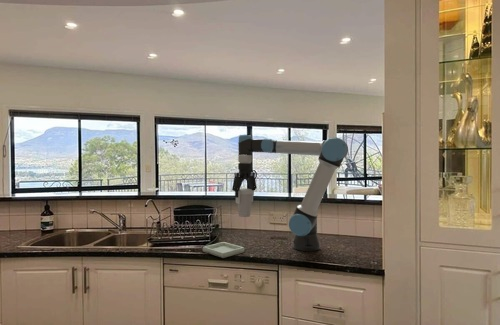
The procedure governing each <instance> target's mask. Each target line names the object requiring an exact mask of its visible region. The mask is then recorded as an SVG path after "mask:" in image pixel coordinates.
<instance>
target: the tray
mask: <svg viewBox="0 0 500 325" xmlns="http://www.w3.org/2000/svg"><path fill="white" fill-rule="evenodd" d="M202 252H203V253H205V254H209V255H212V256H216V257H219V258H221V259H225V258H228V257H232V256H234V255H235V256H236V255H239V254H241V253H244V252H245V247H243V246H241V245H237V244H233V243H229V242H225V241H222V242H217V243H214V244H209V245H206V246H202Z"/></svg>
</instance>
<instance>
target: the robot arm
mask: <svg viewBox="0 0 500 325" xmlns="http://www.w3.org/2000/svg"><path fill="white" fill-rule="evenodd" d="M237 146H238V147H237V148H238V158H237V160H238V161H237V162H238V165H237V169H238V172H234V178H233V183H232V188H231V191H233V192H234V198H235V204H237V205H238V204H240V192H239V190H240V189H241V187H242V184H243V182H244V181H246V182H247V185H248V189H252V191H253V194H252V201H251V203H253V202H254V195H255V193H254V192H255V191H256V190H257V182H256V177H255V176H256V172H254V171H252V168H253V167H252V163H253V162H252V159H253V157H252V156H253V155H252V154H253V153H268V154H284V155H285V154H287V155H288V154H289V155H301V156H302V155H303V156H318V158H317V159H318V166H317V168H316V170H315V173H314V175H313V177H312V179H311V182H310V184H309V186H308V188H307V190H306V193H305V195H304V197H303V199H302V201H301V204H298V205H296V208H295V210H294V212H293V214H292V216H291V217H290V218H289V221H288V227H289V230H290V232H292V234H294V235H295V236H294V238H293V242H292V248H293V249H295V250H297V251H302V252H315V251H318V250H320V249H321V244H320V241H319V236H318V215H319V214H318V208H319V206H320V204H321V202H322V200H323V198H324V195H325V193H326V191H327V189H328V186H329V184H330V182H331V180H332V178H333V175H334V173H335V171H336V170H337V169H340V167H341V166H342V163H343V161H344V159H345V158H346V157H347V155H348V153H349V147H348V144H347V143H346V141H344V140H343V139H341V137H337V136H336V137H335V136H334V137H329V138H327V139H326V140H322V141H306V140H305V141H303V140H301V141H300V140H278V139H277V140H276V139H272V138H268V137H267V138H266V137H265V138H253V136H252V135H250V134H249V135H248V134H242V135H241V134H240V135H239V136H238V144H237Z"/></svg>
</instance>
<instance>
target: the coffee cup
mask: <svg viewBox="0 0 500 325" xmlns="http://www.w3.org/2000/svg"><path fill="white" fill-rule="evenodd" d="M239 192H240V204H238V203H237V210H238V212H237V213H238V217H241V218H249V217H251V211H252V202H251V201H252V194H253V191H252V189H250V188H240V190H239Z"/></svg>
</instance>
